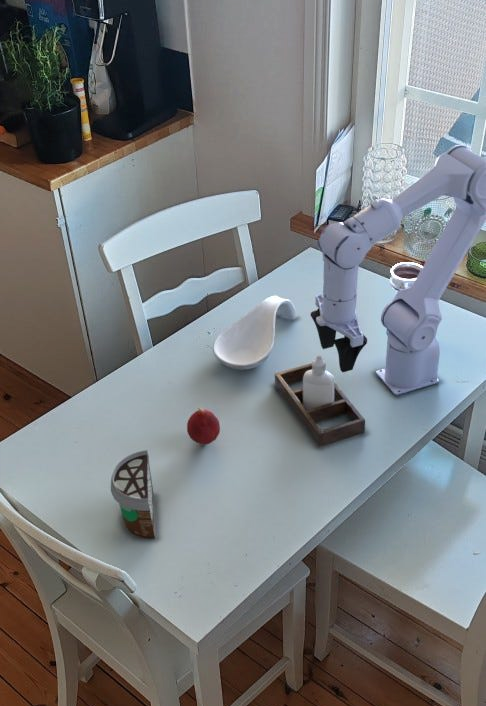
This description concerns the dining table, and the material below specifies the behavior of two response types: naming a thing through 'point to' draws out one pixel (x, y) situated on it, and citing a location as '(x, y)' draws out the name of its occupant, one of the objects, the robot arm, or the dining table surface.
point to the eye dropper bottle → (317, 385)
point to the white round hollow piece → (404, 275)
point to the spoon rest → (252, 335)
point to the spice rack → (320, 409)
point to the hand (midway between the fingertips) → (336, 358)
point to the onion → (203, 426)
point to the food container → (135, 494)
